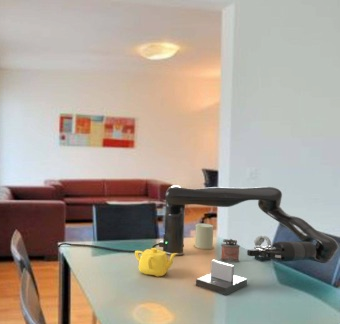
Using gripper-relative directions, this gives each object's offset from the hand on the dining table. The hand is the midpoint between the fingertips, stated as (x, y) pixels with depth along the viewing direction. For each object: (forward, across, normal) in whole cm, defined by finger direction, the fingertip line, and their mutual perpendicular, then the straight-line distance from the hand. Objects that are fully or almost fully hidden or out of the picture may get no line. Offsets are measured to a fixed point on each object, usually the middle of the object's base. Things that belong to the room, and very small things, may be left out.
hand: (248, 252), depth 144 cm
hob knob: (+9, +3, -10) cm, 14 cm away
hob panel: (+9, +3, -13) cm, 16 cm away
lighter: (-12, +32, -13) cm, 36 cm away
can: (-12, +56, -13) cm, 59 cm away
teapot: (+29, +19, -13) cm, 37 cm away
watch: (-30, +32, -13) cm, 45 cm away
